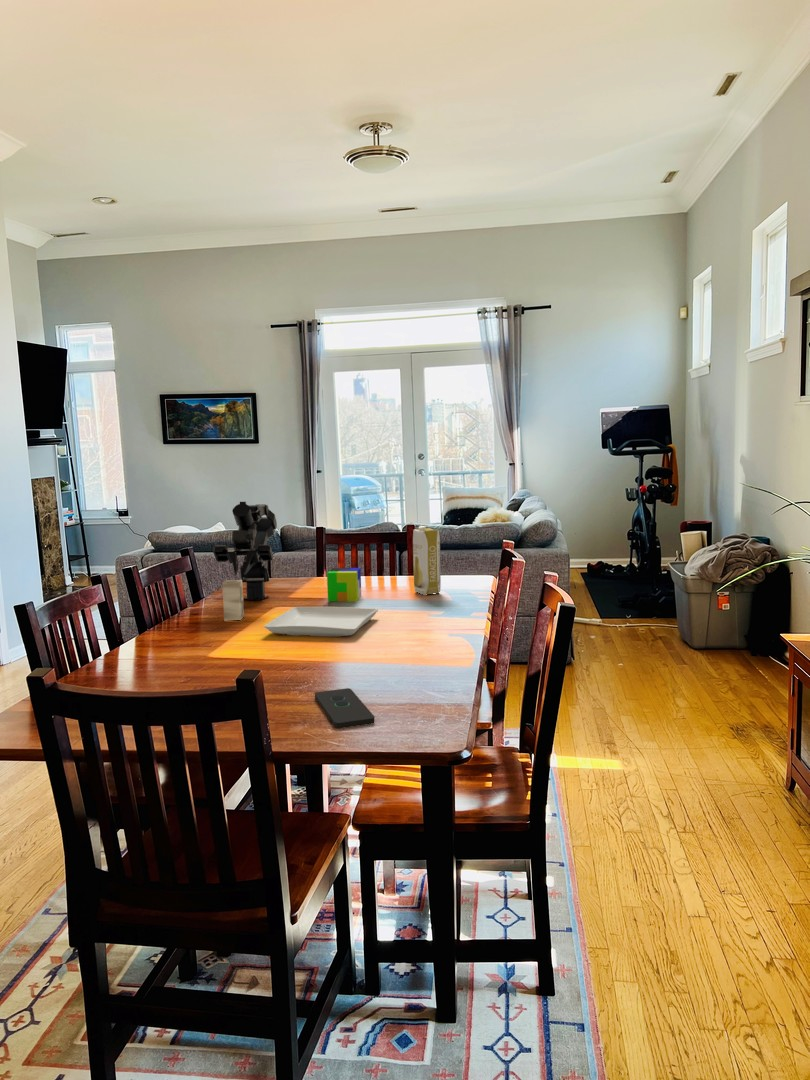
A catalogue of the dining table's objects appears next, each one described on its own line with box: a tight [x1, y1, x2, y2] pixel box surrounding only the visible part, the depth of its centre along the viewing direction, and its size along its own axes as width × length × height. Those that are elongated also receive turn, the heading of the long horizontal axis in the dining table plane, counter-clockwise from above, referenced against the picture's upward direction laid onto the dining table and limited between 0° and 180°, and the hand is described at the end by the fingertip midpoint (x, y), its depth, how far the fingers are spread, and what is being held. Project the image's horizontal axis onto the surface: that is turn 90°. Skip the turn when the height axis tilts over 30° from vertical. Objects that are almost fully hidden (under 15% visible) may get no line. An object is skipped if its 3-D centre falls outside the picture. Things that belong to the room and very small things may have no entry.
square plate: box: [263, 606, 379, 637], centre depth 232 cm, size 27×27×4 cm
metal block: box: [221, 579, 245, 622], centre depth 245 cm, size 5×5×12 cm
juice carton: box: [412, 525, 442, 596], centre depth 277 cm, size 9×8×24 cm
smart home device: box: [314, 687, 375, 729], centre depth 161 cm, size 8×2×20 cm
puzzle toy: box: [326, 567, 362, 602], centre depth 273 cm, size 10×10×10 cm
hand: (240, 574), depth 254 cm, fingers open, 3 cm apart
